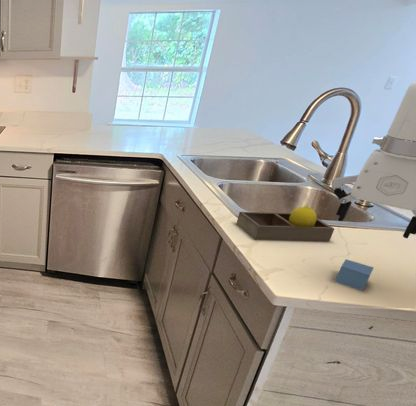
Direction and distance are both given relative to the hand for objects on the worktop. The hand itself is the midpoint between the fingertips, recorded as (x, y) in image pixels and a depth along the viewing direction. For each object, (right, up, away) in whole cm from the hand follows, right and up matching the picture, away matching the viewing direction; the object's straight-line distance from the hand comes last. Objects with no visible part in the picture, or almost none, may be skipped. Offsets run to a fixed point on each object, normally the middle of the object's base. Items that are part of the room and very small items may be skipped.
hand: (372, 227), depth 76 cm
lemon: (+7, -3, +26) cm, 27 cm away
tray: (+3, -4, +27) cm, 27 cm away
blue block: (+1, -13, +5) cm, 14 cm away
